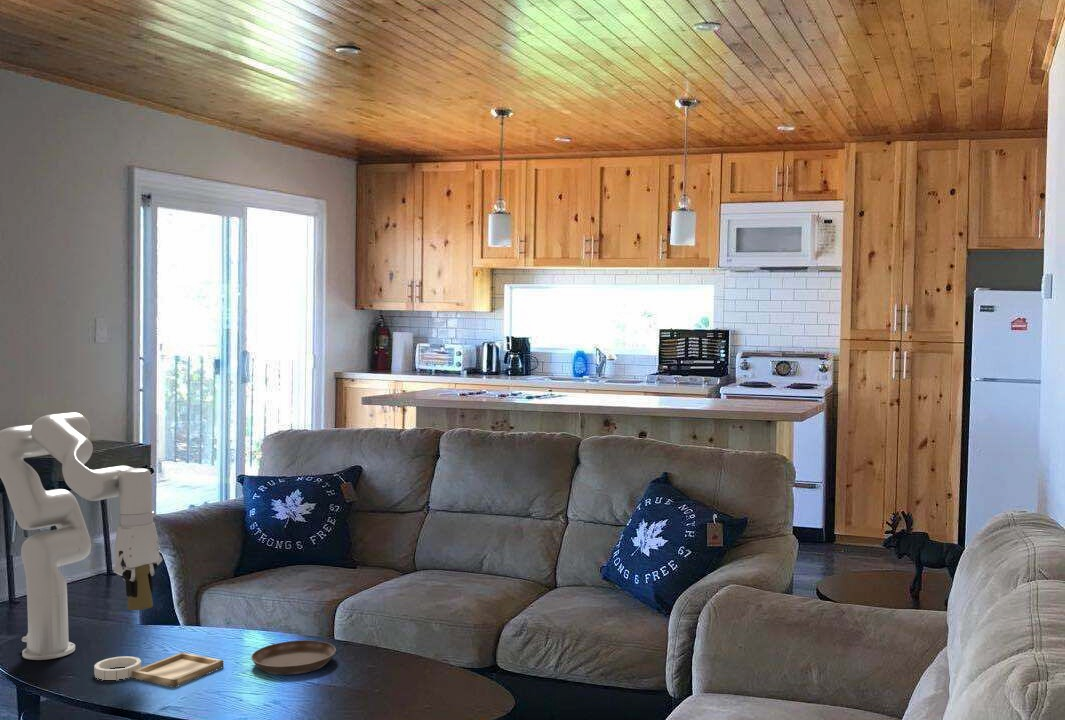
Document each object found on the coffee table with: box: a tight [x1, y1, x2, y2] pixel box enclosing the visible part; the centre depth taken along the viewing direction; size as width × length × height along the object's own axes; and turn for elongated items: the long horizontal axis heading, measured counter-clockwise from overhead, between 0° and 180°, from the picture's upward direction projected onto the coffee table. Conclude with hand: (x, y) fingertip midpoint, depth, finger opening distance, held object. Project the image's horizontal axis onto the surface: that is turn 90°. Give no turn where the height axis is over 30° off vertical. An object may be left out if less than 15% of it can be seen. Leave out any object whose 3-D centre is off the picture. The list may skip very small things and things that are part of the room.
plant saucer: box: [251, 639, 337, 676], centre depth 272 cm, size 21×21×3 cm
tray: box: [131, 651, 224, 688], centre depth 266 cm, size 14×16×2 cm
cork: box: [126, 564, 154, 611], centre depth 265 cm, size 6×6×11 cm
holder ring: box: [93, 655, 143, 681], centre depth 266 cm, size 10×10×2 cm
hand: (139, 593), depth 265 cm, fingers closed on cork, 3 cm apart
